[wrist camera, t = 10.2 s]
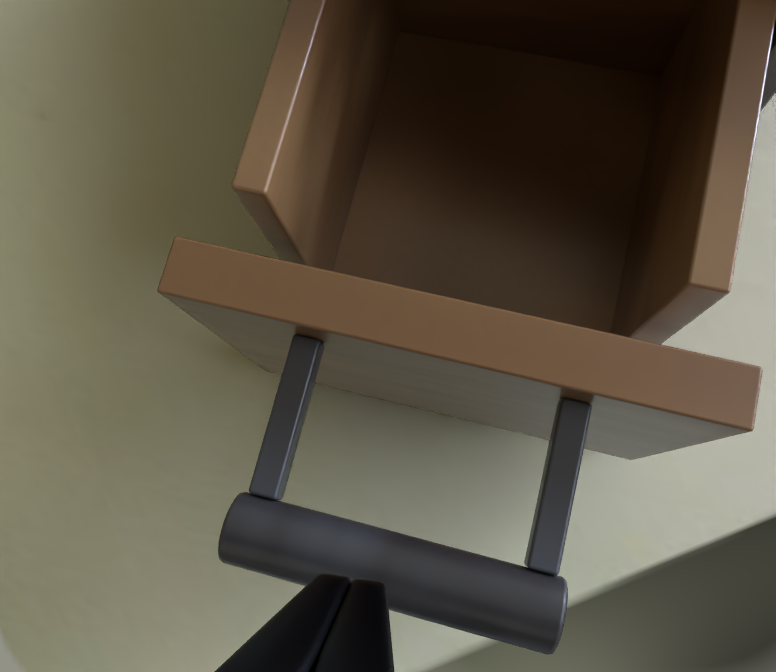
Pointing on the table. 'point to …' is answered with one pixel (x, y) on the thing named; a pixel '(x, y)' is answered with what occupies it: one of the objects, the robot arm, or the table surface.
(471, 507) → the table surface
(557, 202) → the drawer
